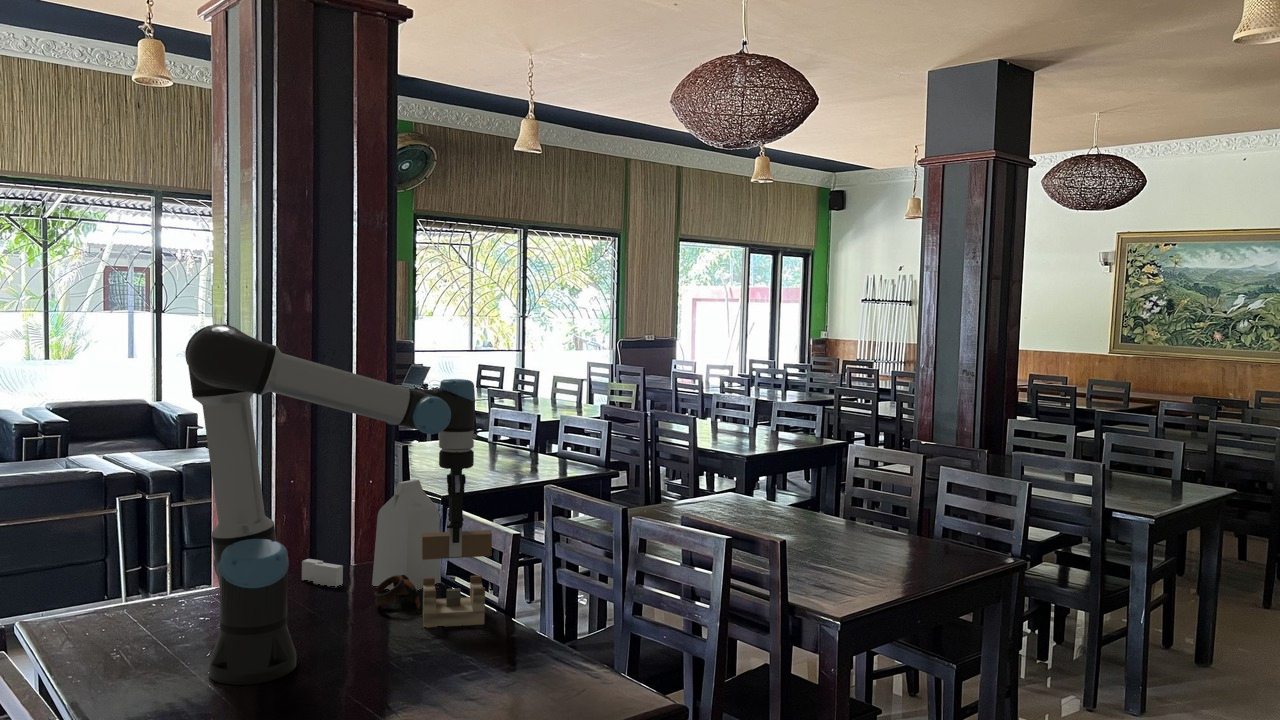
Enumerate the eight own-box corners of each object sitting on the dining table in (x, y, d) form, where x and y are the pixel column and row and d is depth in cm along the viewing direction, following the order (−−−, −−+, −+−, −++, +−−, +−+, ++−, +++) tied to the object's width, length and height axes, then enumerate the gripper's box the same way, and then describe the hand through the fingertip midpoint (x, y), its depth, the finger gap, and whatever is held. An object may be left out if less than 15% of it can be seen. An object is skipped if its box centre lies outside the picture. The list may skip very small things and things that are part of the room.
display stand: (484, 624, 200) (485, 588, 199) (423, 627, 196) (424, 591, 196) (480, 609, 209) (481, 575, 209) (422, 612, 206) (423, 577, 206)
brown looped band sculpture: (421, 615, 206) (404, 587, 203) (384, 632, 206) (366, 604, 203) (427, 586, 217) (410, 559, 214) (391, 602, 217) (374, 575, 215)
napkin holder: (352, 589, 223) (353, 566, 223) (304, 595, 217) (304, 571, 217) (338, 573, 236) (338, 551, 236) (292, 578, 230) (292, 556, 230)
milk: (407, 575, 234) (409, 475, 233) (440, 583, 229) (443, 480, 227) (371, 586, 224) (373, 481, 223) (405, 594, 218) (407, 487, 217)
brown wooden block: (491, 556, 202) (491, 533, 202) (422, 559, 198) (422, 537, 198) (490, 551, 206) (490, 529, 205) (422, 555, 202) (422, 533, 202)
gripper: (476, 455, 194) (474, 563, 195) (471, 443, 210) (469, 543, 211) (440, 455, 192) (438, 565, 193) (438, 443, 208) (436, 544, 209)
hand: (454, 553), depth 202 cm, fingers closed on brown wooden block, 4 cm apart
